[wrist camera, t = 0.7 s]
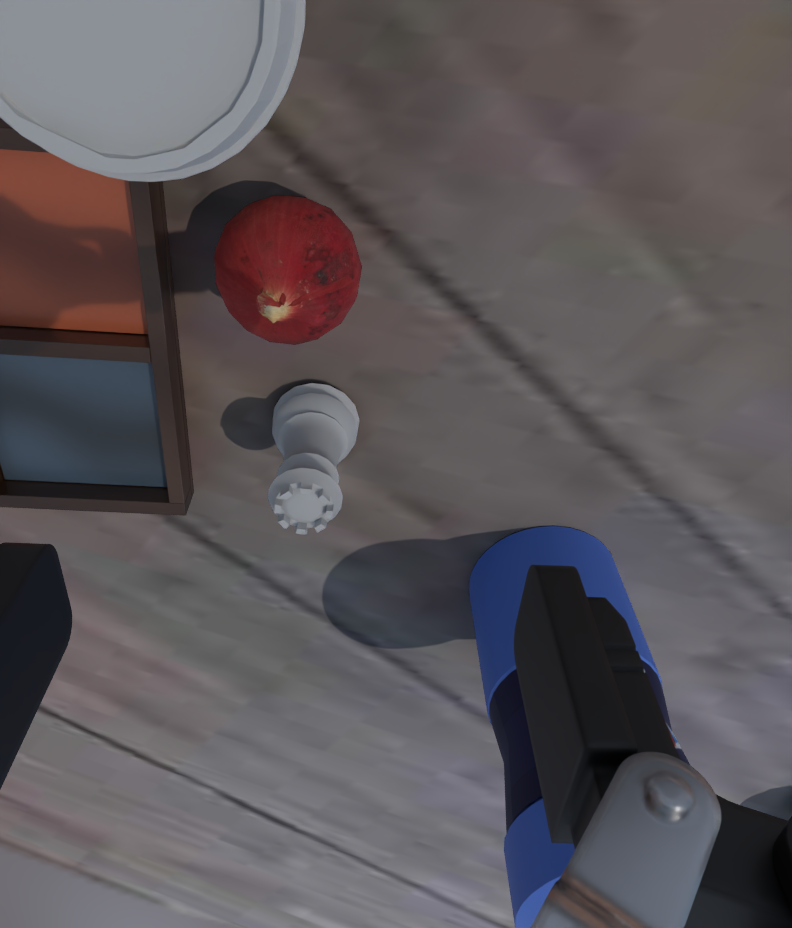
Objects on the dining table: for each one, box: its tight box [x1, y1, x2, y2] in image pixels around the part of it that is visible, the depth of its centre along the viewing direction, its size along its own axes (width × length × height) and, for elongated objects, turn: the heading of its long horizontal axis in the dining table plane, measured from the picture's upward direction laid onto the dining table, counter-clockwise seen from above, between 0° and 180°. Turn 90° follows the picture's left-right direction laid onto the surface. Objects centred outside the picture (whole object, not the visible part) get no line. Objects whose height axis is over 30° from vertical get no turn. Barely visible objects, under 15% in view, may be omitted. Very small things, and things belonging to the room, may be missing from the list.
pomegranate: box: [214, 195, 362, 345], centre depth 29 cm, size 6×6×8 cm
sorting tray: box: [0, 118, 194, 515], centre depth 34 cm, size 19×11×2 cm, turn 176°
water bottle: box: [469, 526, 690, 928], centre depth 34 cm, size 9×9×25 cm
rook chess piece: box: [268, 383, 359, 535], centre depth 34 cm, size 4×4×8 cm
